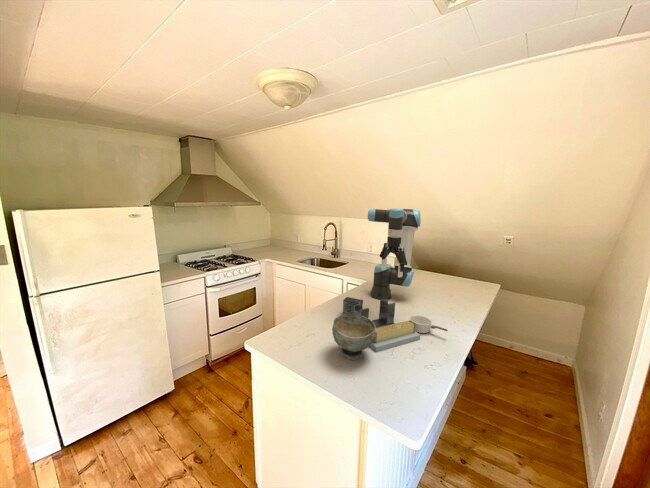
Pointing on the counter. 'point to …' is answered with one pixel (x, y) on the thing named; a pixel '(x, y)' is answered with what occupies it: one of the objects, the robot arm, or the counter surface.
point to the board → (395, 342)
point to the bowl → (353, 334)
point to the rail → (394, 331)
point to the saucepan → (423, 324)
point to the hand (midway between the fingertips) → (391, 273)
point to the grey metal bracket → (384, 314)
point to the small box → (350, 305)
